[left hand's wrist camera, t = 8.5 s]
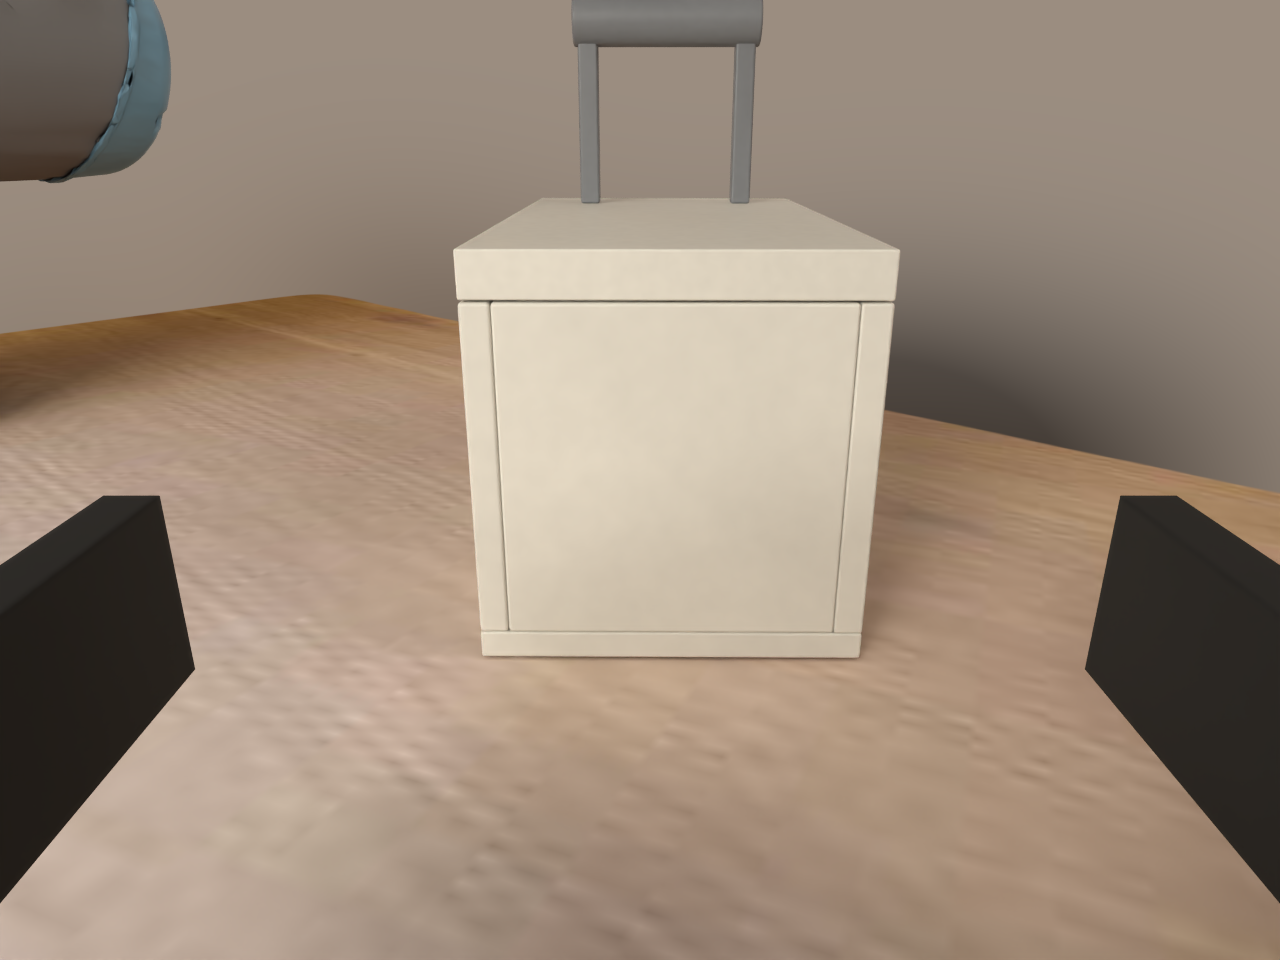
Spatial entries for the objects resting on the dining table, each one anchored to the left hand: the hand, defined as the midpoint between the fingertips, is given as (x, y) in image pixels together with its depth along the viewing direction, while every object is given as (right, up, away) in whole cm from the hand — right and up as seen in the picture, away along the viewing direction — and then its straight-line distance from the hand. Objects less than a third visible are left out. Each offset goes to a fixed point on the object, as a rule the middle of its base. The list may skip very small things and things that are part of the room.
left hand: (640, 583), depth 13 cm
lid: (+1, +9, +16) cm, 18 cm away
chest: (+1, 0, +19) cm, 19 cm away
